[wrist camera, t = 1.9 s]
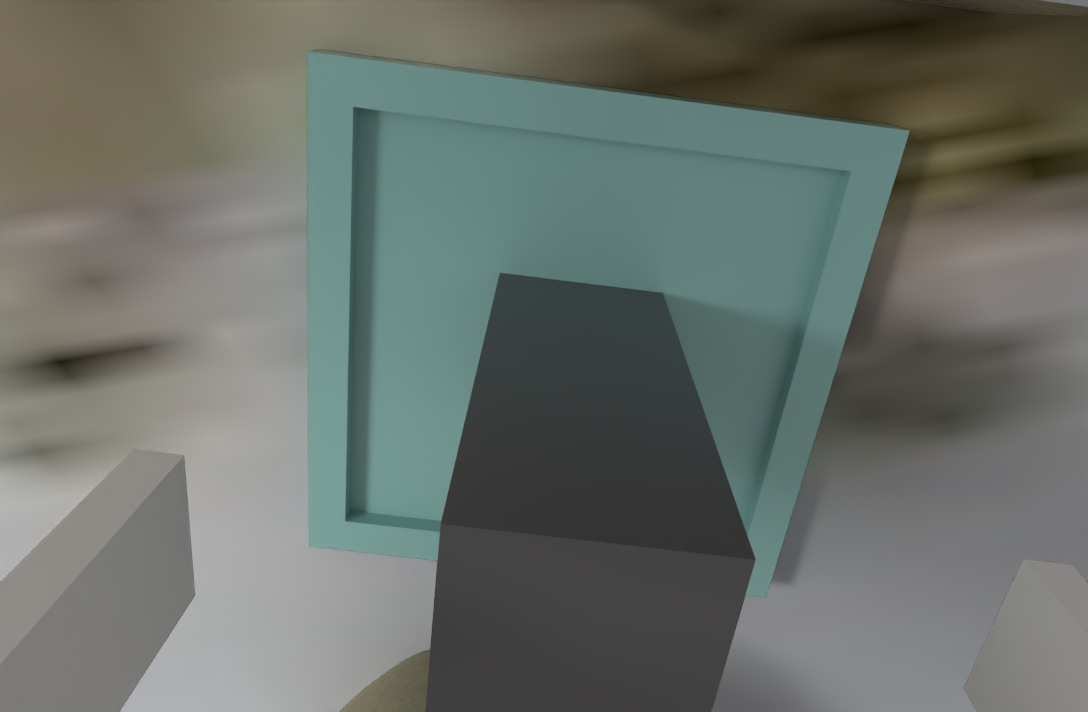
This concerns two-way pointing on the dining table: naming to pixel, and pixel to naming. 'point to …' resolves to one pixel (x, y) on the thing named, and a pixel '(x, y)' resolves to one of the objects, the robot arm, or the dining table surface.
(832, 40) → the dining table surface
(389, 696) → the flower pot
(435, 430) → the tray
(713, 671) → the plug
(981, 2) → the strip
